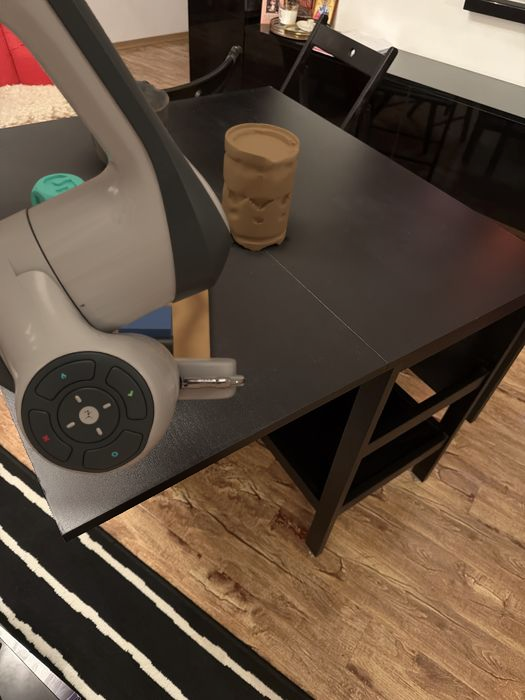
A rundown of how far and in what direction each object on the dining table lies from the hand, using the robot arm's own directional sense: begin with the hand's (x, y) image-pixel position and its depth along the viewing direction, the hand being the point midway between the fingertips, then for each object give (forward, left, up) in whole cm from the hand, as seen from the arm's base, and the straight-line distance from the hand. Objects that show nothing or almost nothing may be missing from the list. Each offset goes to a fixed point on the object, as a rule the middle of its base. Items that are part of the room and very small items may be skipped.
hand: (144, 370), depth 55 cm
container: (+17, +42, -9) cm, 47 cm away
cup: (-8, +65, -9) cm, 67 cm away
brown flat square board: (0, +17, -9) cm, 19 cm away
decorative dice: (-17, +42, -9) cm, 47 cm away
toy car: (0, +5, -9) cm, 10 cm away
